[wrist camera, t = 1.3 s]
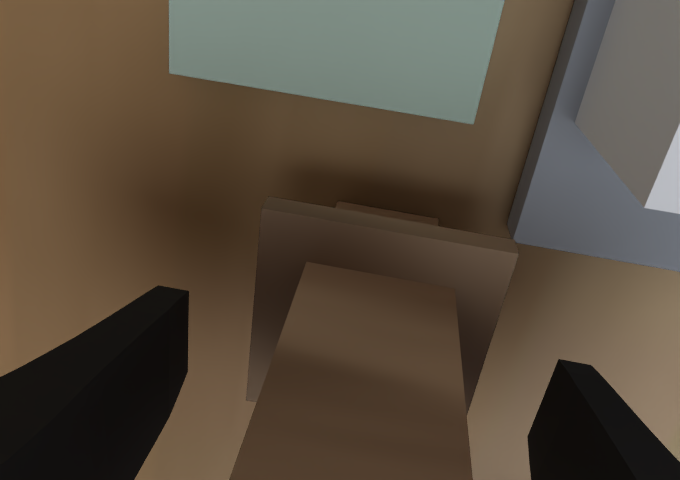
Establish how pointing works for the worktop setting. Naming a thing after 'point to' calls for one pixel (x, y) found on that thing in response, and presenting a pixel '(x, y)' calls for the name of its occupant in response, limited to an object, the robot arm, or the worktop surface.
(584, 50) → the breaker housing
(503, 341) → the worktop surface
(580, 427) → the robot arm
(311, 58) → the mat
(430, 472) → the brown block
